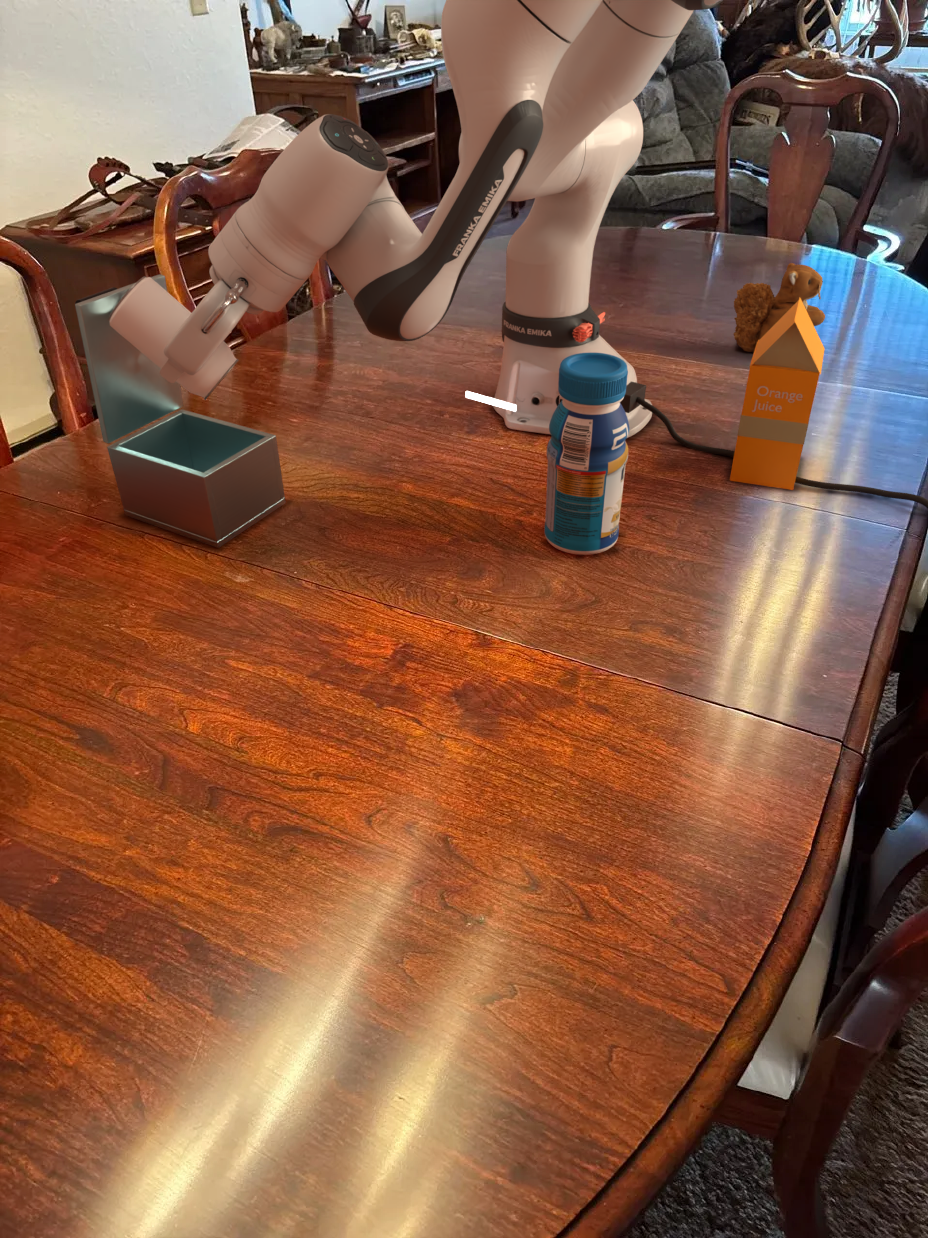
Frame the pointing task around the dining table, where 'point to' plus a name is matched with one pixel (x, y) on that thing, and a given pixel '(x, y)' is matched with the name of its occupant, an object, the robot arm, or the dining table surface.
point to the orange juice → (778, 402)
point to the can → (165, 333)
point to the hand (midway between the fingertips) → (178, 362)
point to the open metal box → (198, 476)
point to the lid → (121, 370)
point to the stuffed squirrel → (774, 304)
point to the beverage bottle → (587, 454)
